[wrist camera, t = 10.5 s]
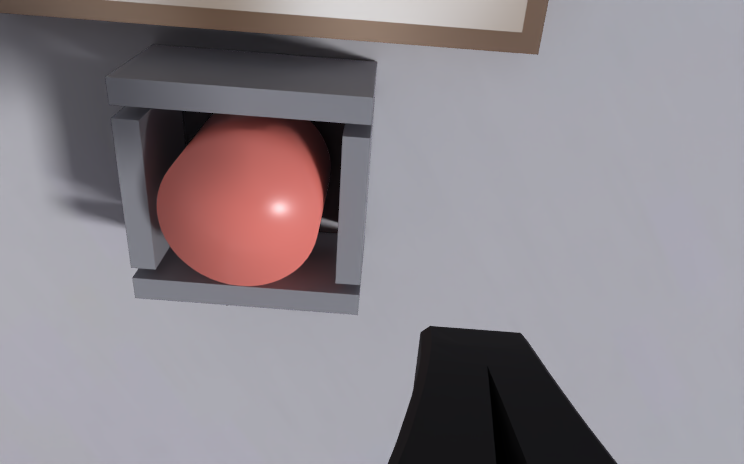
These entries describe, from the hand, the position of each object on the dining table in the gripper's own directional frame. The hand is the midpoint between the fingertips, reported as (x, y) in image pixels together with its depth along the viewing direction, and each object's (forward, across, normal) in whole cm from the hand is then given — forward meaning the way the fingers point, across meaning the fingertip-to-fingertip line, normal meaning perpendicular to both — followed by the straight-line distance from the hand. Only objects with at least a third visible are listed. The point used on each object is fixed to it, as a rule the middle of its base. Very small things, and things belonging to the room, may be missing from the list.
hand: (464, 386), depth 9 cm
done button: (+9, +4, +1) cm, 10 cm away
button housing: (+9, +4, +1) cm, 10 cm away
